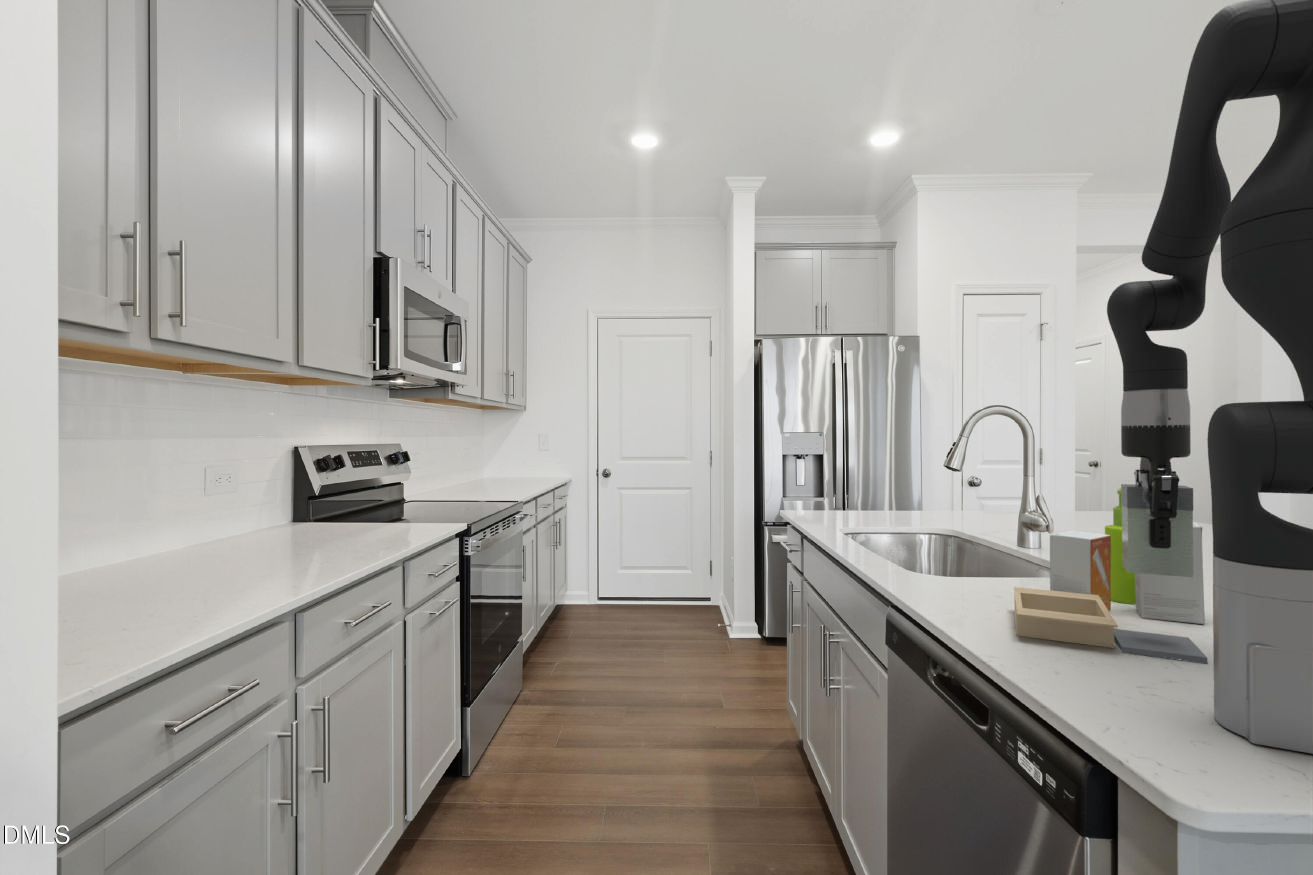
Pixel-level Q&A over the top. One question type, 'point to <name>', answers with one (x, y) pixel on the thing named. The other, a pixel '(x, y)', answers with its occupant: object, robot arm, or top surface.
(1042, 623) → the wooden rectangular frame
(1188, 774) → the top surface
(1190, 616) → the skincare box
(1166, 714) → the top surface
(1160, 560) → the tea tin
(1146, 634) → the mat
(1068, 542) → the small box
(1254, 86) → the robot arm
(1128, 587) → the soap dispenser
